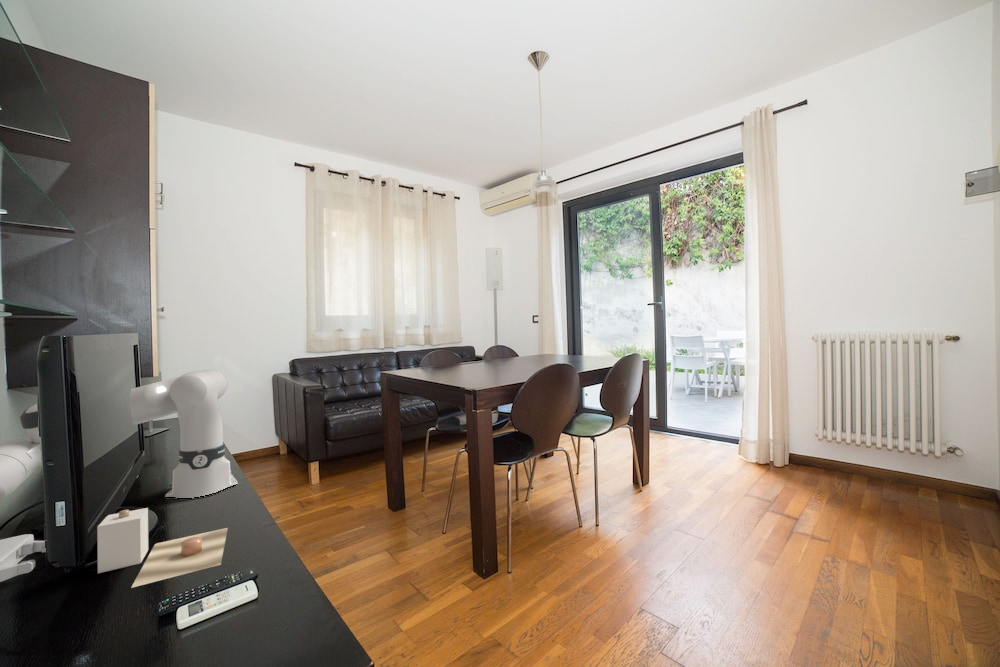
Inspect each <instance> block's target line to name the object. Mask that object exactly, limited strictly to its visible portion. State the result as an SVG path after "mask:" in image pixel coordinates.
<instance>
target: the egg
mask: <svg viewBox="0 0 1000 667" xmlns="http://www.w3.org/2000/svg"><path fill="white" fill-rule="evenodd" d="M201 551H202V538H201V537H193V538H189V539H187V540H185V541H183V542H182V543H181V555H182V556H183V557H187V556H192V555H195V554H197V553H199V552H201Z"/></svg>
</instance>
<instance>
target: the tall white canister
mask: <svg viewBox="0 0 1000 667" xmlns="http://www.w3.org/2000/svg"><path fill="white" fill-rule="evenodd" d="M96 528H97V535H96V536H97V574H101V573H105V572H106V573H107V572H110V571H113V570H114V571H115V570H118V569H123V568H127V567H130V566H135V565H139V564H141V563H142V562H143V560H144V558H145V557H146V555H147V553H148V551H149V507H145V508H140V509H139V508H138V509H135V510H134V509H133V510H130V509H124V510H120V511H118V512H117V513H113V514H108V515H107V516H106V517H104V519H103V520H102V521H101V522H100V523H99V524H98V525H97V526H96Z"/></svg>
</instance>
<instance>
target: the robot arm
mask: <svg viewBox="0 0 1000 667" xmlns="http://www.w3.org/2000/svg"><path fill="white" fill-rule="evenodd" d="M228 386H229V382H228V378H226V375H223V373H221V372H219V371H218V370H214V369H203V370H197V371H190V372H186V373H184V374H182V375H180V376H177V377H173V378H169V379H163V380H160V381H157V382H152V383H150V384H149V383H148V384H145V385H141V386H137V387H134V388H131V393H130V408H131V416H132V422H133V424H134V425H133V426H136V425H140V424H143V423H146V422H149V421H153V420H156V419H160V418H163V417H166V416H170V415H173V414H177V418H178V421H179V430H180V431H179V433H180V434H179V437H180V438H179V439H180V441H179V442H180V449H179V450H178V456H177V457H178V462H179V464H177V466H175V467H174V469H173V470H172V485H171V486H172V489H171V490H169V491H168V492H167V493H165V496H164V498H165V497H176V498H175V499H177V498H192V499H195V498H194V497H199V498H201V497H200V496H204V497H206V496H205V495H209V494H212V493H216V492H218V491H220V490H223V489H225V488H227V487H230V486H233V485H236V484H238V485H239V483H238V482H239V481H238V480H237V479H236V478H235V477H234V474H233V473H232V472H233V471H232V470H231V461H230V460H229V459H227V458H226V456H225V455H226V447H225V446H226V445H225V443H224V431H223V430H224V428H223V427H224V425H223V423H224V420H223V418H222V416H221V412H220V409H219V405H218V400H219V399H221V398H222V397H223V396H224V395H225V393H226V391H227V389H228ZM19 417H20V424H21V427H22V429H24V430H25V431H26V434H27V435H28V437H29V439H30V440H27V439H19V438H18V439H8V440H6V441H2V442H0V501H1V500H3V499H4V498H7V496H9V495H11V494H12V493H13V492H14V491H15V490H16V489H18V488H19V487H20V486H21V485H22V484H23V483H24V482H26V480H27V478H29V476H31V475H32V474H33V473H34V472H36V471H38V470H39V469H41V472H42V468H43V467H42V460H41V450H40V439H39V431H38V412H37V403H35V404H34V405H32V406H30V407H29V408H27V409H25V410H24V411H23V412H22V413H21V415H20V416H19ZM236 486H237V485H236ZM216 494H217V493H216ZM212 495H213V494H212ZM209 496H210V495H209ZM45 541H46V540H35V538H34V534H31V533H29V534H21V535H17V536H11V537H7V538H3V539H2V538H1V539H0V583H1V582H4V581H7V580H9V579H12V578H14V577H17V576H20V575H23V574H29V573H30V572H32V571H33V570H34V568H35V567H36V559H29V560H24V561H22V560H23V559H24V558H26V556H28V555H31V554H34V553H37V552H38V553H39V552H41V553H47V552H46V548H45Z"/></svg>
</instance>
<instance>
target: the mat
mask: <svg viewBox="0 0 1000 667" xmlns="http://www.w3.org/2000/svg"><path fill="white" fill-rule="evenodd" d="M228 529H229V527H226V528H225V527H224V528H220V529H216V530H211V531H206V532H203V533H196V534H194V535H188V536H184V537H180V538H175V539H170V540H166V541H162V542H157V543H155V544H154V545H153V547H152V548H151V550H150V553H149V554H148V556H147V558H146V560H145V561H144V563H143V565H142V567H141V569H140V570H139V572H138V574H137V576H136V578H135V579H134V582H133V583H132V585H131V587H130V588H131V589H133V588H137V587H140V586H144V585H148V584H152V583H155V582H160V581H164V580H167V579H171V578H176V577H180V576H184V575H187V574H190V573H191V574H192V573H195V572H198V571H202V570H206V569H209V568H214V567H218V566H221V565H222V562H223V561H222V560H223V556H224V551H225V550H224V549H225V544H226V540H227V534H228ZM193 537H201V538H202V551H201V552H199V553H197V554H195V555H192V556H187V557H183V556H182V555H181V543H182V542H183V541H185V540H187V539H189V538H193Z"/></svg>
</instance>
